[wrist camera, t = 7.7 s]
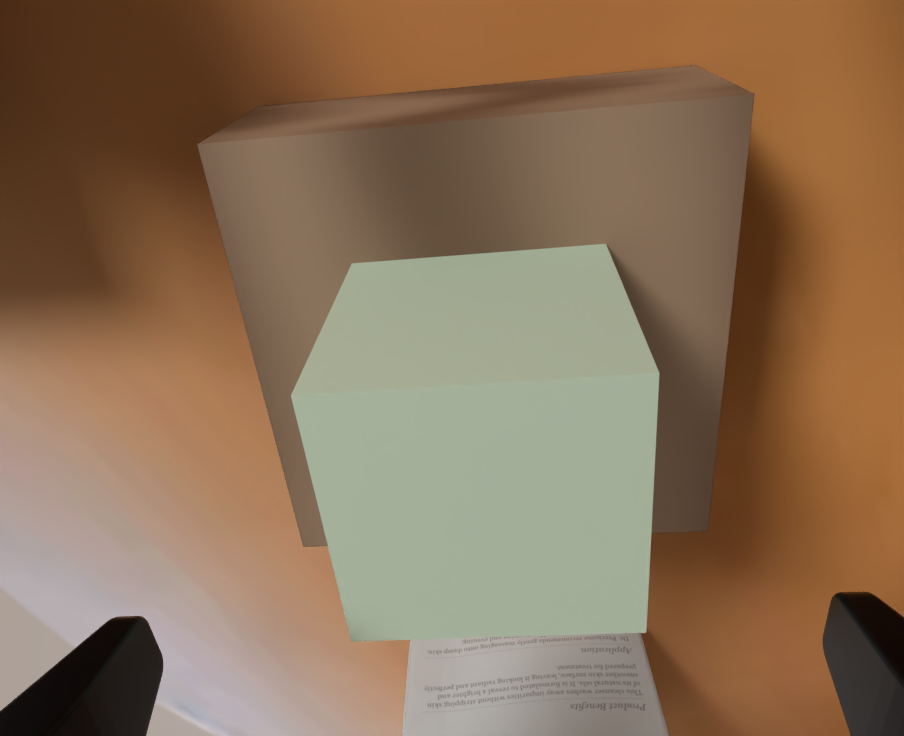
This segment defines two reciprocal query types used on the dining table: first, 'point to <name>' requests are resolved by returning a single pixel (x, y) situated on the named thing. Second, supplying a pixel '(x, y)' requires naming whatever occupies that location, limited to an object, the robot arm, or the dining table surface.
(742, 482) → the dining table surface
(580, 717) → the skincare box
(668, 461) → the walnut slab
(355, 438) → the sage block
